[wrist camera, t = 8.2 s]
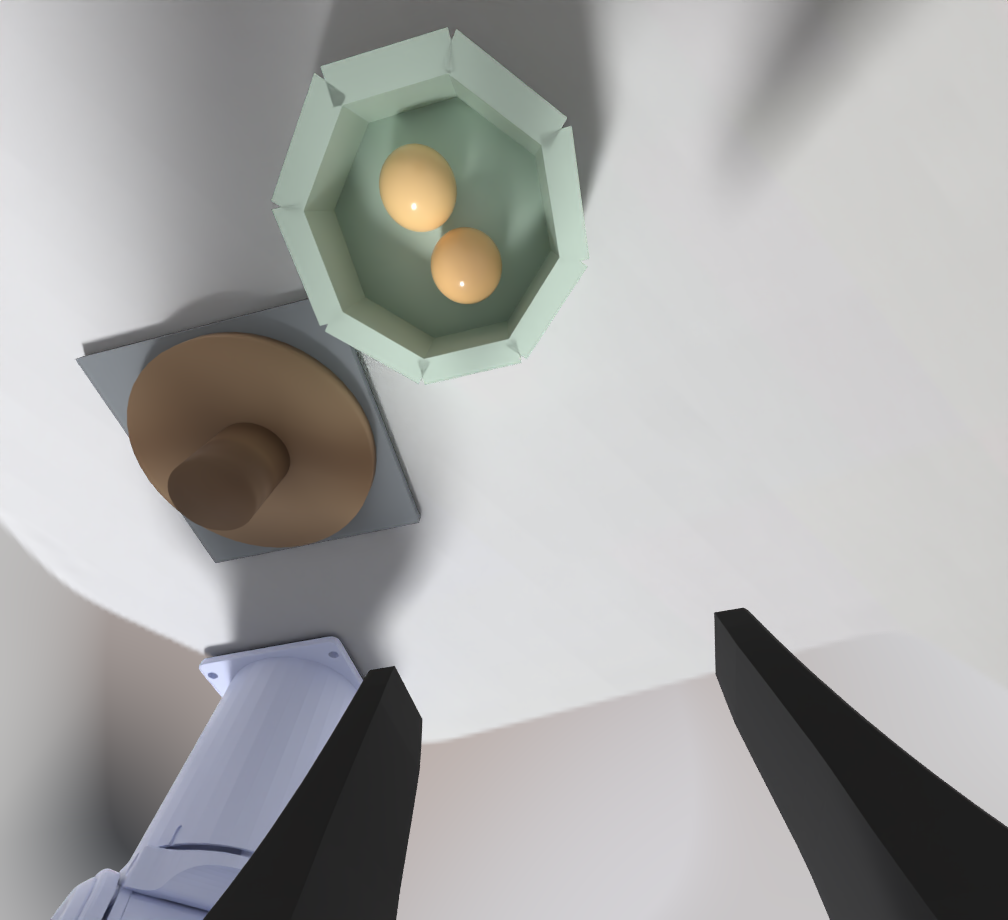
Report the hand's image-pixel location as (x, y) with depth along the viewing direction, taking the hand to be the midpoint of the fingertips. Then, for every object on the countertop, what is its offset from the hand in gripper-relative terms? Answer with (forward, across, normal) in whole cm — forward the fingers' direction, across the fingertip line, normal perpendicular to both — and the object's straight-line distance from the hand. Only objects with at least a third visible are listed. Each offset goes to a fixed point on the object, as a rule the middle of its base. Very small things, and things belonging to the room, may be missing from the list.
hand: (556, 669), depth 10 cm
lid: (+10, +10, -3) cm, 15 cm away
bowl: (+10, +1, -9) cm, 14 cm away
